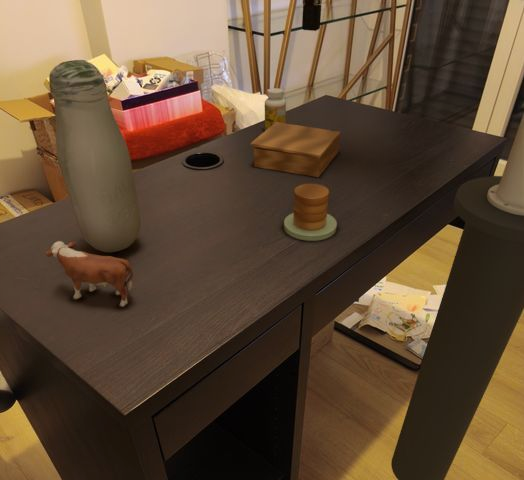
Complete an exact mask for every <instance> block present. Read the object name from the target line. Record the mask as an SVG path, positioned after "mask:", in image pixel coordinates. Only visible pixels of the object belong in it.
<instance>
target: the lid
mask: <svg viewBox="0 0 524 480" xmlns="http://www.w3.org/2000/svg"><path fill="white" fill-rule="evenodd" d="M339 135H340V136H341V131H336V130H331V129H324V128H318V127H311V126H304V125H298V124H292V123H280V122H276V123H274V124H273V125H272V126H271V127H270V128H268V129H267V130H266V131H265V130H264V131H263V132H262V133H261V134H259V136H257V137H256V138H255V139H253V140H252V141H251V142H250V144H249V145H250V147H254V148H255V147H259V148H265V149H271V150H277V151H282V152H288V153H294V154H300V155H305V156H311V157H317V158H320V157H321V156H322V155H323V154H324V152H325V151H326V150H327V149H328V148H329V147H330V146H331V144H332V143H333V142H334V141H335V140H336V139H337V137H338V136H339Z"/></svg>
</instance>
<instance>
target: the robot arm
mask: <svg viewBox="0 0 524 480" xmlns="http://www.w3.org/2000/svg"><path fill="white" fill-rule="evenodd" d="M322 3H323V0H302V20H301V21H302V22H301V29H302V30H303V31H310V32H311V31H312V32H317V31H318V30H320V29H321V18H322ZM501 176H502V178H501V181H500V184H498V185H495V186H493V187H491V188H490V189H489V191H488V193H487V199H488V201H489V202H490V203H491V204H492V205H493V206H495V207H496V208H498V209H500V210H502V211H505V212H508V213H511V214H515V215H521V216H524V113H523V114H522V117H521V120H520V123H519V126H518V129H517V131H516V135H515V137H514V141H513V143H512V146H511V149H510V152H509V154H508V157H507V161H506V163H505V166H504V169H503V172H502V175H501Z"/></svg>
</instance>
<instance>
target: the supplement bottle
mask: <svg viewBox="0 0 524 480" xmlns="http://www.w3.org/2000/svg"><path fill="white" fill-rule="evenodd" d="M266 97H267V98H266V99H265V100H264V132H265V131H266V130H267V129H268V128H270V127H271V126H272V125H273V124H274V123H276V122H280V123H286V119H287V116H286V115H287V112H286V111H287V101H286V100H285V99H284V98H283V97H284V89H282V88H280V87H272V88H268V89H267V91H266ZM286 124H287V123H286Z"/></svg>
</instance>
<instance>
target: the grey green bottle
mask: <svg viewBox="0 0 524 480" xmlns="http://www.w3.org/2000/svg"><path fill="white" fill-rule="evenodd" d="M48 81H49V82H48V84H49V91H50V94H51V96H52V99H53V105H54V106H53V107H54V114H55V115H54V116H55V145H56V146H55V147H56V157H57V162H58V165H59V168H60V172H61V175H62V178H63V183H64V184H65V188H66V192H67V195H68V198H69V201H70V204H71V207H72V210H73V213H74V217H75V220H76V223H77V226H78V228H79V231H80V233H81V235H82V237H83V239H84V240H85V241H86V243H87V244H88V245H89V246H91V247H92V248H94V249H95V250H97V251H99V252H103V253H116V252H121V251H122V250H125V249H127V248H129V247H130V246H131V245H133V244H134V242H135V241H136V240H137V238H138V236H139V234H140V230H141V223H142V222H141V213H140V207H139V202H138V197H137V196H138V195H137V192H136V185H135V184H136V183H135V179H134V172H133V167H132V160H131V155H130V152H129V148H128V146H127V143H126V140H125V138H124V136H123V133H122V131H121V128H120V126H119V124H118V121H117V120H116V118H115V115H114V114H113V110H112V107H111V103H110V100H109V95H108V89H107V84H106V81H105V79H104V76H103V75H102V73H101V71H100V70H99V68H98V67H97V66H96V65H94V64H93V63H92V62H89V61H87V60H85V59H74V60H66V61H62V62H60V63H59V64H57V65H56V66H54V67H53V68H52V70H51V71H50V73H49V76H48Z"/></svg>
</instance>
